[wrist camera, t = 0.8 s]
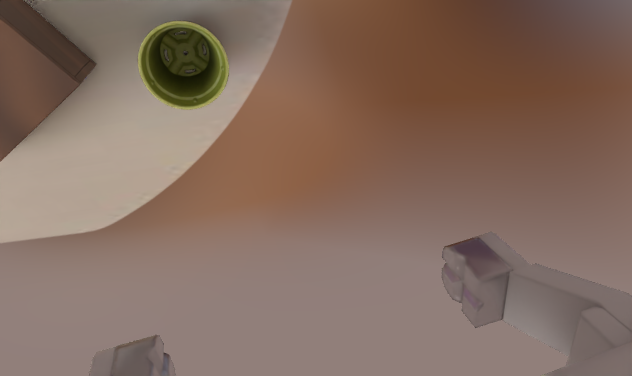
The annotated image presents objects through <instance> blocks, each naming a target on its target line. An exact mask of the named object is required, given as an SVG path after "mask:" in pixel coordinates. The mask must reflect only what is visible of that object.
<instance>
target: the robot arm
mask: <svg viewBox="0 0 632 376" xmlns="http://www.w3.org/2000/svg"><path fill="white" fill-rule="evenodd" d="M442 258H443V259H444V260H445V261H446V263H445V265H444V267H443V268H442V280H443V283H444V287H445V288H446V290H447V292H448V294H449V295H450V297H451V298H452V299H453V300H455V301H457V302H460V303H462V312H463V313H464V314H465V316H466V317H467V318H468V319H469V321H470V322H471V323H472V324H473V326H474V327H475V328H477V327H480V326H483V325H486V324H489V323H493V322H496V321H499V320H502V319H503V321H504V322H505V323H508V324H509V325H511V326H513V327H515V328H517V329H519V330H520V331H522V332H524V333H526V334H528V335H530V336H531V337H533V338H535V339H537V340H539V341H541V342H543V343H544V344H546V345H548V346H550V347H552V348H554V349H556V350H558V351H559V352H561V353H563V354H565V355H567V356H568V360H567V364H566V366H565V367H563V368H560V369H557V370H555V371H552V372H549V373H547V374H544V375H542V376H632V296H631V295H630V294H628V293H626V292H623V291H620V290H616V289H613V288H610V287H607V286H604V285H601V284H598V283H595V282H592V281H588V280H585V279H582V278H579V277H576V276H573V275H570V274H567V273H564V272H560V271H557V270H554V269H551V268H548V267H545V266H542V265H539V264H532V265H531V264H529V263H528V262H527V261H526V260H525V259H524V258H523V257H521V256H520V255H519V254H518V253H517V252H516V251H515V250H513V249H512V248H511V247H510V246H509V245H508V244H507V243H506V242H504V241H503V240H502V239H501V238H500V237H499V236H497V235H496V234H495V233H493V232H489V233H486V234H483V235H479V236H477V237H475V238H470V239H467V240H464V241H461V242H458V243H454V244H451V245H448V246H445V247H444V249H443V251H442ZM89 376H176V374H175V369H174V365H173V362H172V360H171V358H170V356H169V355H168V354H166V353H164V343H163V341H162V340H161V338H160V336H159V335H155V336H151V337H147V338H144V339H140V340H136V341H133V342H129V343H126V344H122V345H119V346H117V347H113V348H109V349H106V350H102V351H99V352H97V353H96V354H95V356H94V357H93V360H92V364H91V369H90V373H89Z"/></svg>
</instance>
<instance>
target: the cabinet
mask: <svg viewBox="0 0 632 376" xmlns="http://www.w3.org/2000/svg"><path fill="white" fill-rule="evenodd" d="M95 66H96V64H95V63H94V62H93V61H92V60H91V59H90V58H89V57H87V56H86V55H85V54H84V53H83V52H82V51H81V50H79V49H78V48H77V47H76V46H75V45H74V44H73V43H71V42H70V41H69V40H68V39H67V38H66V37H65V36H63V35H62V34H61V33H60V32H59V31H58V30H57V29H56V28H54V27H53V26H52V25H51V24H50V23H49V22H48V21H46V20H45V19H44V18H43V17H42V16H41V15H40V14H38V13H37V12H36V11H35V10H34V9H33V8H32V7H30V6H29V5H28V4H27V3H26V2H25V1H24V0H0V162H1V161H2V160H3V159H4V158H5V157H6V156H7V155H8V154H9V153H10V152H11V151H12V150H13V149H14V148H15V147H16V146H17V145H18V144H19V143H20V142H21V141H22V140H23V139H24V138H25V137H26V136H27V135H28V134H30V133H31V132H32V131H33V130H34V129H35V128H36V127H37V126H38V125H39V124H40V123H41V122H42V121H43V120H44V119H45V118H46V117H47V116H48V115H49V114H50V113H51V112H52V111H53V110H54V109H55V108H56V107H57V106H58V105H60V104H61V103H62V102H63V101H64V100H65V99H66V98H67V97H68V96H69V95H70V94H71V93H72V92H73V91H74V90H75V89H76V88H77V87H78V86H79V85H80V84H81V83H82V82H83V80H84V79H85V78H86V77H87V76H88V74H89V73H90V72H91V71H92V69H93V68H94V67H95Z"/></svg>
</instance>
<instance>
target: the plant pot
mask: <svg viewBox="0 0 632 376" xmlns="http://www.w3.org/2000/svg"><path fill="white" fill-rule="evenodd" d="M180 31H186V34H179V35H175V33H176V32H180ZM202 44H203V45H204V46H205V48H206V55H204V54H203V46H202ZM165 49H166V50H167V56H168V58H169V61H167V60H166V59H165V55H164V50H165ZM184 51H187V52H188V54H187V55H184V54H183V52H184ZM138 68H139V73H140V76H141V78H142V80H143V82H144V84H145V86H146V87H147V89H148V90H149V91H150V92H151V94H152V95H153V96H154V97H156V98H157V99H158V100H160V101H161V102H163V103H164V104H166V105H168V106H171V107H173V108H177V109H184V110H191V109H197V108H201V107H204V106H206V105H208V104H210V103H211V102H213V101H214V100H215V99H217V98H218V97H219V95H220V94H221V93H222V91H223V90H224V88H225V86H226V84H227V81H228V76H229V63H228V58H227V55H226V52H225V50H224V48H223V46H222V44H221V43H220V42H219V40H218V39H217V38H216V37H215V36H214V35H213V34H212V33H211V32H210V31H208V30H207V29H205V28H204V27H202V26H200V25H198V24H195V23H192V22H188V21H171V22H167V23H164V24H161V25H159V26H157V27H156V28H154V29H153V30H152V31H151V32H150V33H149V34H148V35H147V36H146V37H145V38H144V40H143V42H142V44H141V46H140V49H139V53H138ZM194 69H195V72H192V73H186V72H185V70H194Z"/></svg>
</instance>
